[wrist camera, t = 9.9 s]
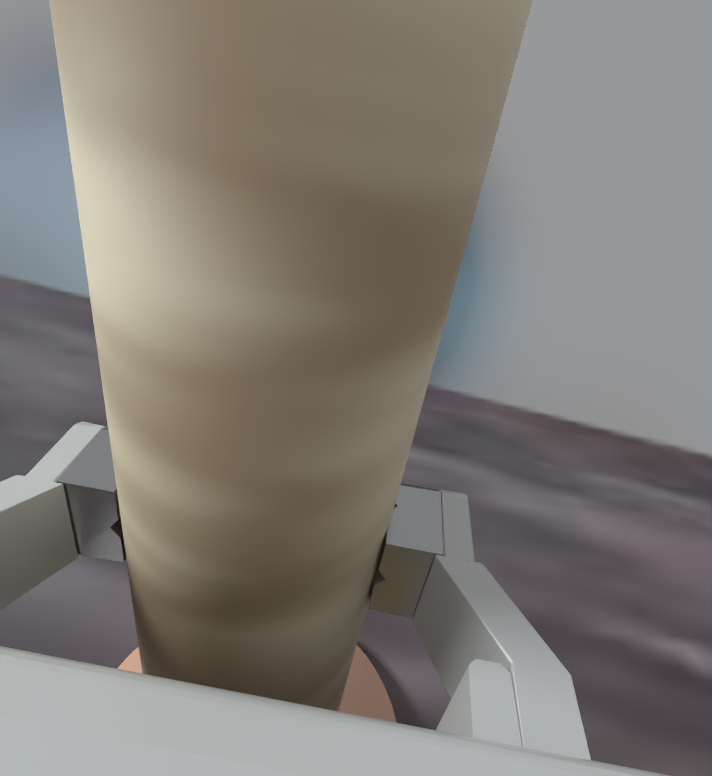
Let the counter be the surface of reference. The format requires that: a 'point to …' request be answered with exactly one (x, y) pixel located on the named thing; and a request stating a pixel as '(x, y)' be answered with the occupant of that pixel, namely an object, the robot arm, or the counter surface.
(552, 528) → the counter surface
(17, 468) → the counter surface
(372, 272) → the pepper mill
